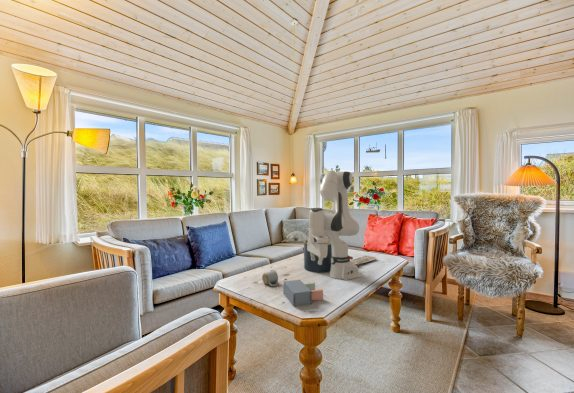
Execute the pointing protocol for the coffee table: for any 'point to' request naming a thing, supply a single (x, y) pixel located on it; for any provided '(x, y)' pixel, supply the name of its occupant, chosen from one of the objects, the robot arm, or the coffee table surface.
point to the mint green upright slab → (310, 285)
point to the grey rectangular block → (297, 292)
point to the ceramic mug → (270, 278)
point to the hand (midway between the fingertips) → (316, 262)
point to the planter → (314, 265)
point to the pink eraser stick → (317, 294)
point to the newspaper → (362, 260)
